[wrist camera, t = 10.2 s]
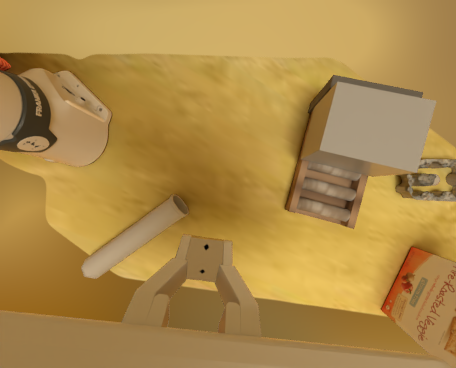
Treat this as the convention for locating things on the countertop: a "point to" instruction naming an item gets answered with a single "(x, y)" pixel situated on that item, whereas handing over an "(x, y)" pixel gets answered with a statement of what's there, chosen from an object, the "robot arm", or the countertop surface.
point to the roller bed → (322, 197)
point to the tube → (135, 237)
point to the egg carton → (429, 181)
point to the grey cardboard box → (368, 130)
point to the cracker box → (426, 303)
